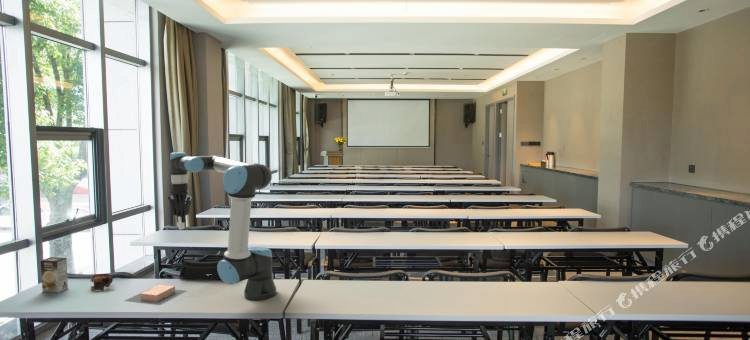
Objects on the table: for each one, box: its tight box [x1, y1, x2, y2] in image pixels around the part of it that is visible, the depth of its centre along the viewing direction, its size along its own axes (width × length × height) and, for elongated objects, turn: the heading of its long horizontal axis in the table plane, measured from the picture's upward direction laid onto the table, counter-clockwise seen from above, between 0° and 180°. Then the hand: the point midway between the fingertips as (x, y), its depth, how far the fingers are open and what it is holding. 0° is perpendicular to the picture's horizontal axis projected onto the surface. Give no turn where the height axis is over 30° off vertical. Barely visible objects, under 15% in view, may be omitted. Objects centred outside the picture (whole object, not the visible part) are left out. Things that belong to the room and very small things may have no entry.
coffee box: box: [40, 256, 69, 294], centre depth 210 cm, size 9×6×16 cm
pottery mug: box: [90, 273, 114, 291], centre depth 215 cm, size 12×10×8 cm
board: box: [140, 284, 176, 302], centre depth 202 cm, size 3×12×9 cm
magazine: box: [178, 259, 222, 281], centre depth 227 cm, size 17×3×30 cm
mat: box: [124, 288, 187, 306], centre depth 202 cm, size 20×18×1 cm
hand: (181, 228), depth 214 cm, fingers closed
